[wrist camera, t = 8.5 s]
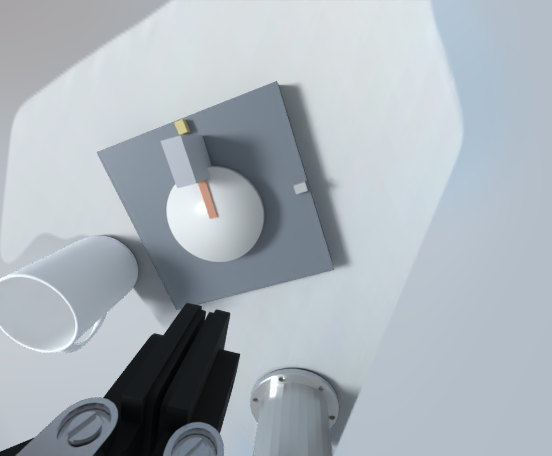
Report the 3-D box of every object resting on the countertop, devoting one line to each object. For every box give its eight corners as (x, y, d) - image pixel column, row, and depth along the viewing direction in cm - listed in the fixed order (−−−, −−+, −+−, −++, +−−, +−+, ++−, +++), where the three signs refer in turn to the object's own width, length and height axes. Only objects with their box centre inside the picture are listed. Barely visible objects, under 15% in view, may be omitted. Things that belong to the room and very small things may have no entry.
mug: (84, 310, 39) (7, 373, 29) (72, 229, 35) (-22, 268, 25) (144, 319, 38) (88, 385, 28) (139, 237, 34) (71, 281, 24)
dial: (274, 246, 31) (269, 268, 26) (190, 263, 32) (170, 286, 27) (241, 124, 27) (228, 122, 22) (148, 149, 28) (116, 153, 23)
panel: (332, 261, 33) (334, 272, 30) (182, 300, 37) (173, 313, 34) (278, 84, 28) (276, 79, 25) (108, 151, 31) (91, 152, 29)
